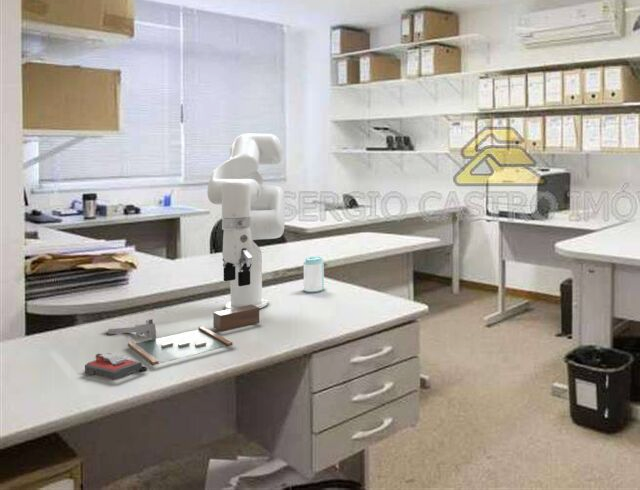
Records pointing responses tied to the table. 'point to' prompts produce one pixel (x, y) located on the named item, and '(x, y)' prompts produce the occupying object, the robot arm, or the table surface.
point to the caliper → (137, 329)
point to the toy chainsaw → (113, 366)
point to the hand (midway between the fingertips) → (236, 282)
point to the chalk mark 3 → (200, 344)
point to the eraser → (235, 317)
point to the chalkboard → (163, 354)
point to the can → (313, 274)
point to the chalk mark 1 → (167, 344)
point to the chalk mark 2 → (183, 344)
